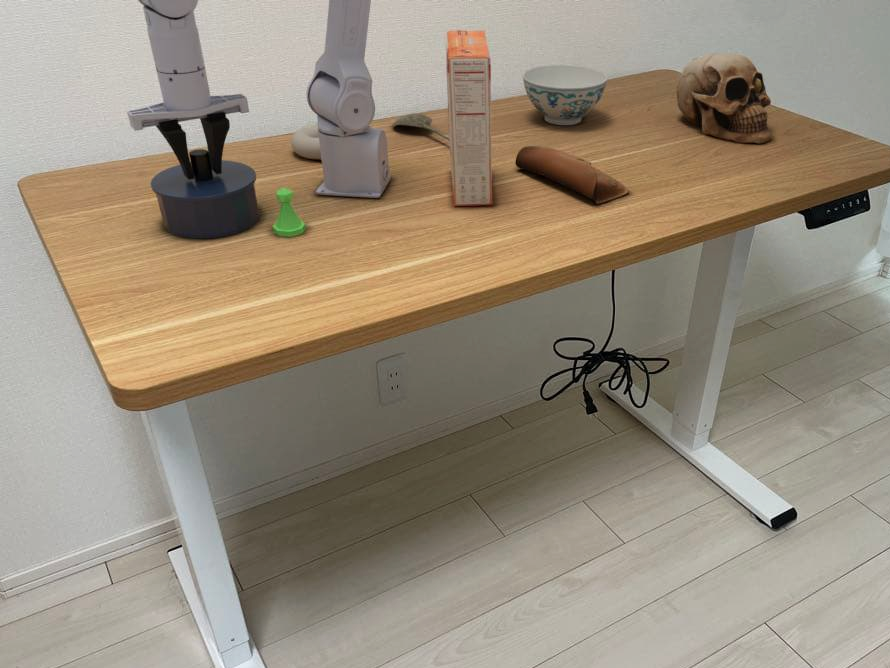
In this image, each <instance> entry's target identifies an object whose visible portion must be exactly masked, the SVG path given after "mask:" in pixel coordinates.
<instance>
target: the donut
mask: <svg viewBox="0 0 890 668" xmlns="http://www.w3.org/2000/svg"><path fill="white" fill-rule="evenodd" d="M290 142H291V143H290V144H291V148H292V150H293V151H294V152H295V153H296V154H297V155H298V156H299V157H302V158H304V159H309V160H316V161H317V160H319V161H320V160H321V161H322V159H321V151H320V143H319V135H318V127H317V124H312V125H307V126H303V127H302V128H300V129H298V130H296V131H295V132H294V133H293V134H292V135H291V138H290Z"/></svg>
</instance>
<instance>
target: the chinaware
mask: <svg viewBox="0 0 890 668" xmlns="http://www.w3.org/2000/svg"><path fill="white" fill-rule="evenodd" d="M522 81H523V86H524V90H525V92H526V95H527V97H528V99H529V101H530V102H531V104H532V105H533V107H534V108H535V109H536V110H537V111H538V112H539V113H541V114H542V115H543V116H544V120H545V122H547V123H549V124H553V125H557V126H572V125H576V124H579V123H581V121H582V118H583V117H584V116H585V115H587V114H588V113H590V112H591V111H592V110H593V109H594V108H595V107H596V106H597V105H598V103H599V101H601V98H602V96H603V95H604V93H605V90H606V86H607V83H608V82H607V81H608V76H607V74H606V73H604V72H603V71H601V70H599V69H597V68H593V67H588V66H583V65H578V64H577V65H576V64H546V65H538V66H533V67H531V68H529V69H527V70H525V71H524V72H523V74H522Z"/></svg>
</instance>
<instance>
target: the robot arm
mask: <svg viewBox="0 0 890 668" xmlns="http://www.w3.org/2000/svg"><path fill="white" fill-rule="evenodd" d="M137 1H138V3H140V4H142V6H143V7H142V9H143V14H144V19H145V23H146V26H147V27H146V30H147V36H148V39H149V44H150V49H151V52H152V58H153V61H154V62H153V63H154V66H155V70H156V74H157V75H156V76H157V80H158V83H159V88H160V92H161V96H162V101H163V102H159V103H156V104H152V105H149V106H145V107H140V108H137V109H132V110H127V111H126V113H127V118H128V122H129V125H130V127H131V128H132V130H134V131H135V132H136V131H141V130H144V128H150V127H155V128H157V130H158V131H159V132H160V134H161V135H162V137H163V138H164V139H165V141H166V142H167V143H168V145H169V147H170V148H171V150H172V151H173V153H174V154H175V157H176V159H177V161H178V163H179V165H181V167H182V170H183V173H184V175H185V176H186V177H187V178H188V180H190V179H194V174H193V170H192V166H191V161H190V156H189V150H188V142H187V132H186V131H185V130H184V129H182V125H181V124H180V122H187V121H193V120H199V121H200V123H201V126H202V130H203V134H204V138H205V142H206V146H207V151H208V153H209V158H210V163H211V168H212V170H213V171H214V172H215V173H216V174H221V173H222V160H223V155H224V154H223V153H224V148H225V143H226V138H227V136H228V133H229V130H230V126H231V124H230V123H231V122H230V119H229V118H228V117H227V115H230V114H237V113H241V114H247V113H250V109H249V108H250V107H249V102H248V97H246V95H244V94H242V93H237V94H227V95H226V94H225V95H211V90H210V85H209V81H208V74H207V69H206V65H205V59H204V55H203V54H204V53H203V49H202V45H201V44H202V43H201V39H200V33H199V29H198V26H197V22H196V16H195V9H196V8H197V5H198V3H199V0H137ZM371 3H372V0H328V11H327V21H326V23H327V24H326V32H325V42H324V50H323V51H324V52H323V53H322V54H321V55H320V57H319V58H318V59H317V60H316V62H315V65H314V73H313V76H312V78H311V79H310V81H309V83H308V85H307V88H306V94H305V95H306V102H307V104H308V107H309V108H310V110H311V111H312V112H313V113H314V114H315V115H316V118H317V124H316V125H317V127H318V135H319V143H320V151H321V159H322V160H321V166H322V167H321V168H322V175H323V181H322V183H321V184H320V185H319V186H318V188H317V189H316V190H315V194H316V195H318V196H335V197H354V198H368V199H369V198H371V199H379V198H381V196H382V194H383V193H384V191H385V189H386V188H387V186H388V184H389V183H390V181H391V180H392V177H391V175H390V165H389V150H388V139H387V135H386V132H385V130H384V129H381V128H375V127H372V126H370V125H371V124H372V123H373V121H374V118H375V114H376V103H375V100H374V97H373V90H372V89H373V78H372V76H371V73H370V71H369V68H368V66H367V64H366V62H365V57H366V48H367V38H368V31H369V29H368V28H369V21H370V12H371V5H372V4H371Z"/></svg>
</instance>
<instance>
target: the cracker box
mask: <svg viewBox="0 0 890 668" xmlns="http://www.w3.org/2000/svg"><path fill="white" fill-rule="evenodd" d="M445 33H446V34H445V35H446V36H445V38H446V39H445V41H446V43H445V46H446V47H445V58H446V59H445V63H446V64H445V67H446V69H445V70H446V90H447V91H446V95H447V115H448V117H447V118H448V136H449V139H450V140H449V155H450V174H451V187H452V196H453V205H454V207H471V206H473V207H475V206H476V207H477V206H493V164H492V163H493V162H492V161H493V160H492V158H493V156H492V79H491V78H492V71H491V70H492V64H491V54H490V48H489V45H488V41H487V35H486V31H485V30H462V29H459V30H458V29H457V30H447V31H445Z"/></svg>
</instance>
